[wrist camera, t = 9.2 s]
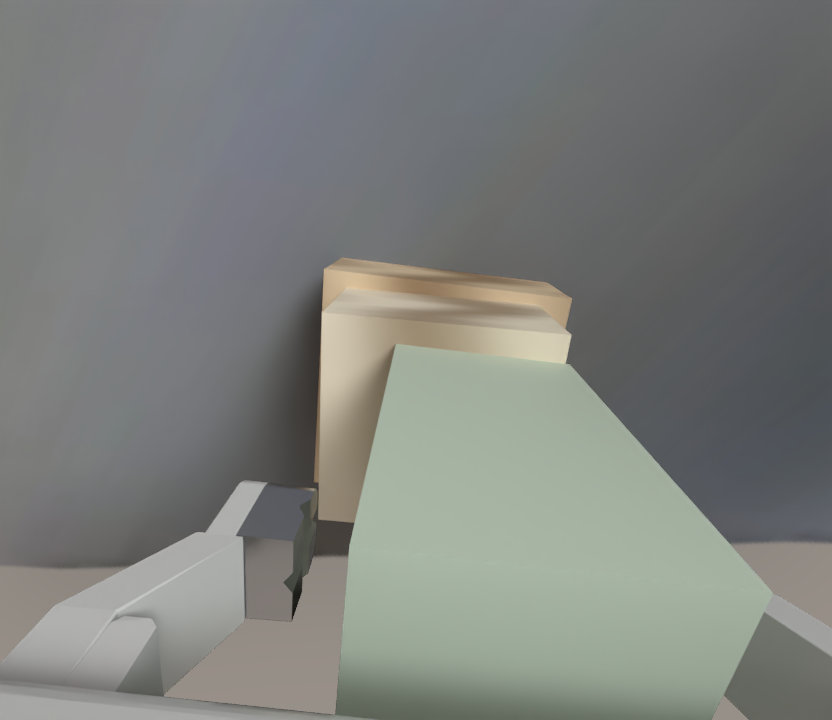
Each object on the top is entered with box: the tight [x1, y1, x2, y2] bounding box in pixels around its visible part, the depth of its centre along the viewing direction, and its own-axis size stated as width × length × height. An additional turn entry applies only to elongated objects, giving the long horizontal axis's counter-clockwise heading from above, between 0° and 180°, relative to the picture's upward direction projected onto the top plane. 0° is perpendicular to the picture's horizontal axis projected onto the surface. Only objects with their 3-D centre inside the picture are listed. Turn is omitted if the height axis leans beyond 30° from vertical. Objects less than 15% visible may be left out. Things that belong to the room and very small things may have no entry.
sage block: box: [335, 344, 773, 720], centre depth 10 cm, size 5×5×8 cm
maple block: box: [318, 288, 571, 523], centre depth 16 cm, size 7×7×4 cm
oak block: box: [314, 258, 572, 483], centre depth 20 cm, size 9×9×4 cm
